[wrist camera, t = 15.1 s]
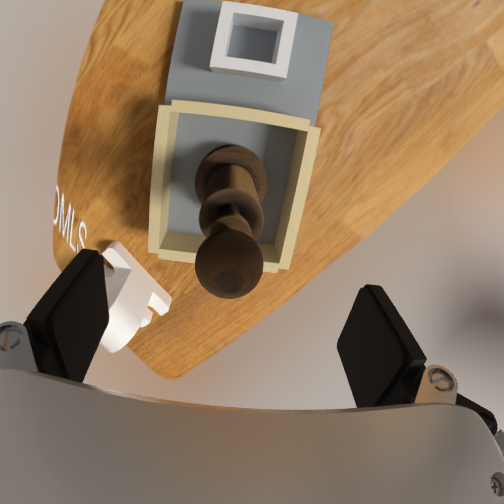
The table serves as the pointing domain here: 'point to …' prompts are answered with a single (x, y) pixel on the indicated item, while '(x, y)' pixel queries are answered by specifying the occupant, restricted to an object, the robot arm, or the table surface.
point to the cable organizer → (129, 297)
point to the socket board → (238, 118)
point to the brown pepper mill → (230, 220)
